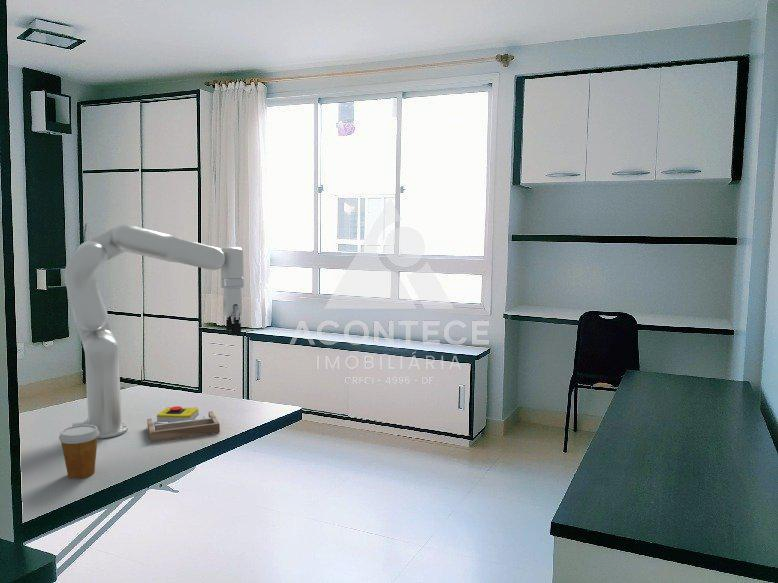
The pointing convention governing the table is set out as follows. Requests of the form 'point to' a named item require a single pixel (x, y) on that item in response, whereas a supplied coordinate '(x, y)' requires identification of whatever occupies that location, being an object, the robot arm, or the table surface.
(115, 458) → the table surface
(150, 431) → the dock
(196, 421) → the catch plate
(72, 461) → the disposable coffee cup
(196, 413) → the emergency button
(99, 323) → the robot arm
